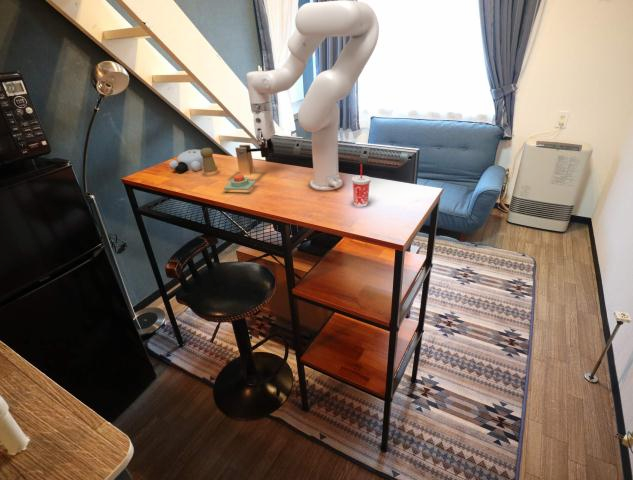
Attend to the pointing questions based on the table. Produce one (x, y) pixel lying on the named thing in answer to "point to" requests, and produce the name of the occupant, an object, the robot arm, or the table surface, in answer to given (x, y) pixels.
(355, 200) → the beverage cup
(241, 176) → the button
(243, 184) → the button block
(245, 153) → the bracket
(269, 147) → the lever
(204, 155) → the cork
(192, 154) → the figurine
